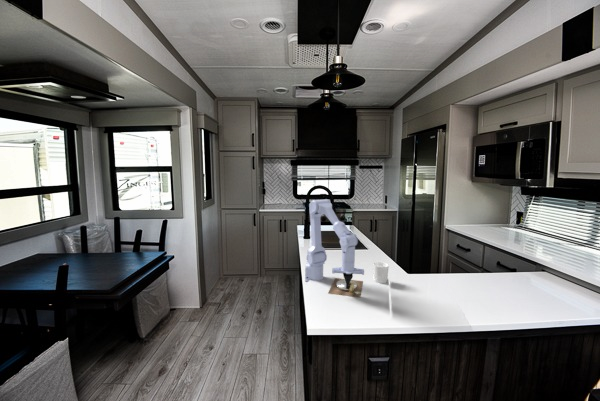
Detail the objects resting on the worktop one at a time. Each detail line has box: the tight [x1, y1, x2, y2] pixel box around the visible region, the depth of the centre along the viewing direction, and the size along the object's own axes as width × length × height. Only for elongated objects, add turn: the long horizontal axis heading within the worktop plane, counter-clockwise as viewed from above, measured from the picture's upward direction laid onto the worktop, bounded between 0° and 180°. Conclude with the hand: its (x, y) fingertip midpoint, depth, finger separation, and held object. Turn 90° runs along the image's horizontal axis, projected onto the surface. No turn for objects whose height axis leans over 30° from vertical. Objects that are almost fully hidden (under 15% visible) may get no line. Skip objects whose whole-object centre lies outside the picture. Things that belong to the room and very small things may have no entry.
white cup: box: [372, 261, 390, 284], centre depth 145 cm, size 8×8×10 cm
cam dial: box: [336, 280, 357, 293], centre depth 135 cm, size 15×10×5 cm
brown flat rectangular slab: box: [327, 277, 364, 299], centre depth 137 cm, size 15×19×2 cm
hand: (347, 288), depth 128 cm, fingers closed
